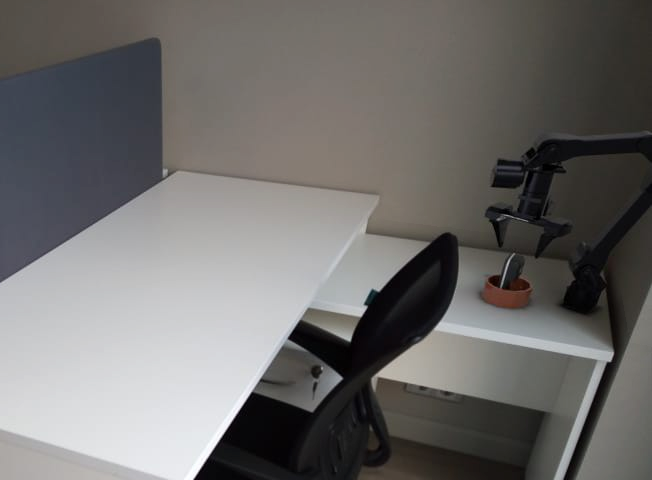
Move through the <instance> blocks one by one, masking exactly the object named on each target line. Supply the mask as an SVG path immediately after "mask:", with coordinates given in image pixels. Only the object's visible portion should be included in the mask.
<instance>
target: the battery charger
mask: <svg viewBox="0 0 652 480" xmlns="http://www.w3.org/2000/svg"><path fill="white" fill-rule="evenodd" d="M525 262H526V259H525V256H523V255H521V254H517V253H510V254H509V255H507V257H506V259H505V260H504V263H503V266H502V269H501V272H500V274H501V276H500V279H499V283H498V288H501V289H503V290H510V282H511V281H512V282H515V281H516V280H517V279H518V278H519V277H520V276H521V275H522V274H523V270H524V267H525ZM510 291H511V290H510Z"/></svg>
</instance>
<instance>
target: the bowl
mask: <svg viewBox="0 0 652 480" xmlns="http://www.w3.org/2000/svg"><path fill="white" fill-rule="evenodd" d="M500 276H501V273H498V274H491V275H489V276H487V277H485V280H484V284H483V288H482V293H481V299H483V300H484V302H486V303H488V304H489V305H493V306H496V307H500V308H505V309H506V308H507V309H518V308H521V309H522V308H524V307H526V306H527V305H528V304H529V301H530V297H531V294H532V291H533V283H532V282H530V281H529V280H527V279H526V278H523V277H520V276H519V278H518V279H517V280H516V281H515V282H512V281H511V282H510V290H511V291H510V290H503V289H501V288H498V283H499V279H500Z"/></svg>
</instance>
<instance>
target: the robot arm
mask: <svg viewBox="0 0 652 480" xmlns="http://www.w3.org/2000/svg"><path fill="white" fill-rule="evenodd" d="M638 153H639V154H642V156H644V157H645V158H646V160H648V162H650V164H649V166H648V167H647V168H646V170H645V172H644V174H643V177H642V179H641V182H640V184H639V187H638V188H637V189H636V191H634V193H633V194H632V195H631V196H630V198H629V199H627V201H625V203H624V205H622V207H621V208H620V209H619V210H618V212H617V213H616V214H615V215H614V216H613V217H612V218H611V220H610V221H609V222H608V223H607V224H606V225H605V227H604V228H602V230H601V231H600V232H599V234H597V236H596V237H595V238H594V239H592V240H591V241H589V242H587V243H585V242H584V241H579V243H578V245H577V247H575V249H574V250H573V251H572V252H570V253H569V259H568V261H567V265H568V268H569V270H570V272H571V274H572V276H573V278H574V279H573V280H572V281H571V282H570V285H567V286H566V289H565V292H564V296H563V299H562V301H563V302H561V303H560V306H561V307H564V308H567V309H570V310H573V311H575V312H579V313H581V314H585V315H588V314H590V313H592V312H593V311H595V310H597V309H598V308H599V307H600V305H599V304H598V303H599V301H600V297H601V294H602V292H603V291H604V290H605V289H606V288H607V287H608V283H607V281H606V279H605V278H604V276H603V274H602V272H603V270H604V269H605V267H606V265H607V264H608V261H609V259H610V256H611V254H612V251H613V250H614V249H615V248H616V247H617V245H619V243H620V242H621V241H622V240H623V239H624V238H625V237H626V235H627V234H628V233H629V232H630V231H631V230H632V229H633V228H634V226H635V225H636V224H637V223H638V222H639V221H640V220H641V219H642V217H643V216H644V215H645V214H646V213H647V212H648V211H649V210H650V209H651V207H652V132H650V131H649V130H642V131H636V132H625V133H624V132H621V133H610V134H609V133H607V134H592V135H574V134H570V133H569V134H568V133H563V132H552V131H547V132H543V133H541V134H540V135H539V136H538V137H537V138H536V139H535V140H534V142H533V144H532V145H531V147H529V149H527V150H526V151H525V152H524V153H522V155H520V157H519V158H506V157H502V156H501V157H500V156H498V157H497V158H496V162H495V163H494V165H493V167H492V169H491V172H490V176H489V188H494V189H495V188H496V189H508V190H516V189H518V188H520V187H521V186H522V185H523V187H522V191H521V193H519V194H518V195H517V199H518V200H519V201H518V205H517V208H516V210H514V205H512V204H509V203H505V202H502V201H498V202H496V203H494V204H491V205H489V206H488V207H487V208H486V209H485V213H484V218H486V219H488V222H489V223H491V225H492V228H493V231H494V234H495V238H496V243H497V247H498V248H499V249H501V248H502V247H503V246H504V243H505V241H506V240H505V239H506V235H507V231H508V226H509V224H510V222H511V220H515V221H519V222H523V223H526V224H530V225H533V226H536V227H540V228H543V233H541V234H540V235H539V236H540V237H539V240H538V243H537V246H536V250H535V253H534V259H535V260H537V259H539V258H540V257H541V255H542V254H543V253H544V251H545V250H546V249H547V247H548V246H549V245H550V243H552V241H554V240H555V239H557V238H563V237H564V236H566V235H568V234H570V233H572V230H573V229H574V223H573V220H570V219H567V218H563V217H559V216H556V217H554V218H552V219H547V218H543V217H548V216H550V217H551V216H553V214H554V212H555V210H556V208H557V205H558V202H556V201H554V200H551V199H552V194H551V190H552V186H553V183H554V181H555V176H556V174H561V175H562V174H564V175H565V174H566V173H567V169H566V168H565V167H564V166H563V162H567V161H570V160H572V159H574V158H579V157H588V156H589V157H590V156H604V155H621V154H638Z"/></svg>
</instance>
